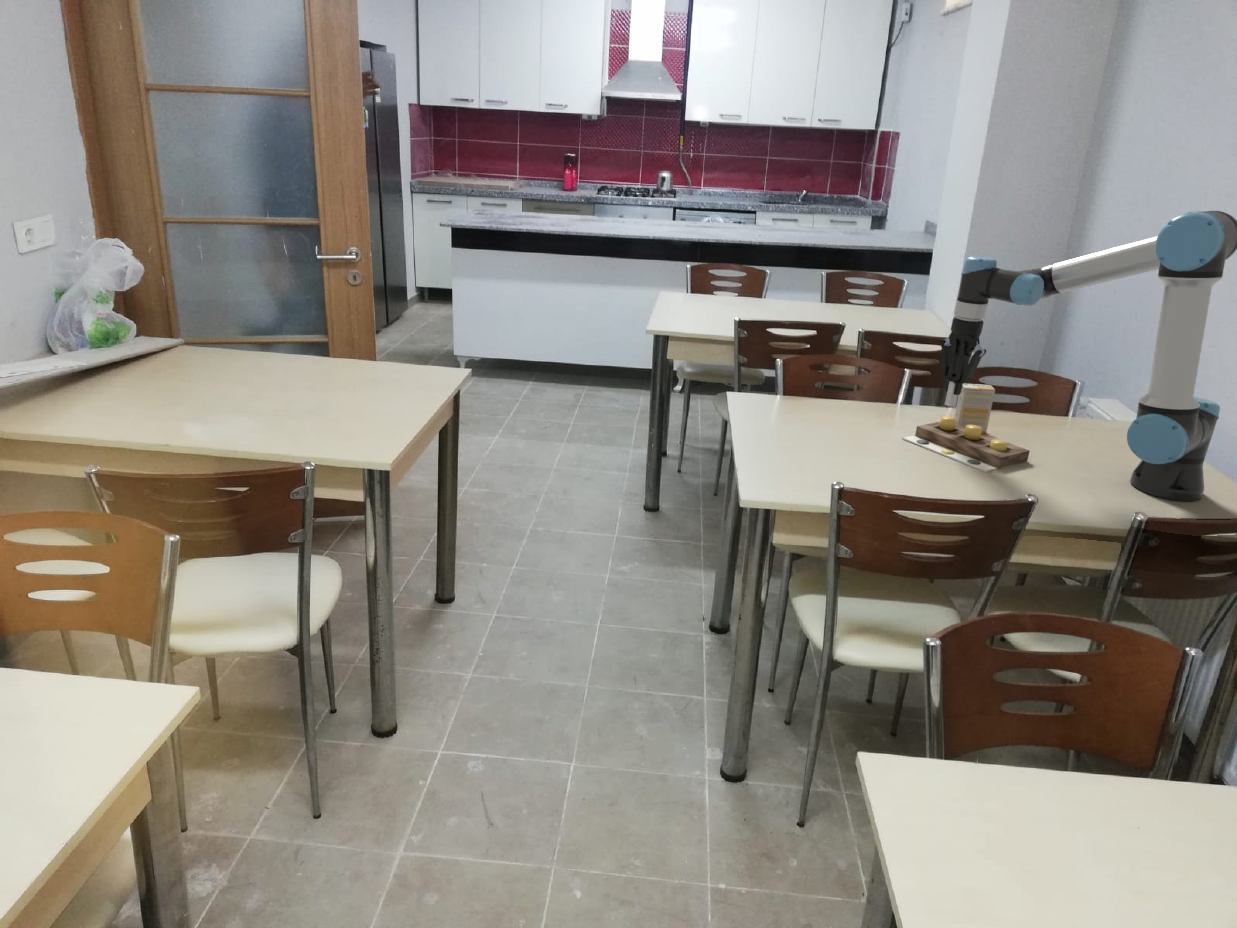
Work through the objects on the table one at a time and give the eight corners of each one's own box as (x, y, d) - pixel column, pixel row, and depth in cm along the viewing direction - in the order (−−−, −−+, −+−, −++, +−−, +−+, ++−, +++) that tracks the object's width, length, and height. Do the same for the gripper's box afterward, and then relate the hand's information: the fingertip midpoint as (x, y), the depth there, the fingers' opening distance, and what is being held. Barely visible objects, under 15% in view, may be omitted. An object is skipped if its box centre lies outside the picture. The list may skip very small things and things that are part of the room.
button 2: (1008, 453, 223) (1011, 443, 222) (999, 456, 221) (1001, 445, 220) (995, 448, 227) (997, 438, 226) (985, 450, 224) (987, 440, 223)
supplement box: (981, 429, 247) (990, 384, 242) (986, 434, 243) (996, 389, 238) (951, 426, 248) (960, 382, 243) (955, 432, 243) (965, 387, 239)
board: (1027, 461, 224) (1029, 450, 223) (998, 468, 218) (1000, 457, 217) (943, 430, 244) (945, 420, 243) (915, 436, 238) (917, 426, 237)
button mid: (983, 438, 229) (985, 428, 228) (973, 440, 227) (975, 430, 226) (970, 433, 232) (972, 423, 231) (960, 435, 230) (962, 425, 229)
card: (996, 469, 217) (996, 467, 217) (985, 472, 215) (985, 470, 215) (913, 436, 237) (913, 435, 237) (902, 439, 235) (902, 437, 235)
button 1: (957, 429, 235) (959, 419, 234) (948, 431, 233) (950, 421, 232) (945, 424, 238) (947, 415, 237) (935, 426, 236) (937, 417, 235)
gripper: (999, 322, 222) (979, 410, 231) (957, 311, 232) (939, 396, 241) (981, 324, 218) (961, 414, 227) (938, 313, 228) (921, 399, 237)
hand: (950, 405), depth 234 cm, fingers closed
